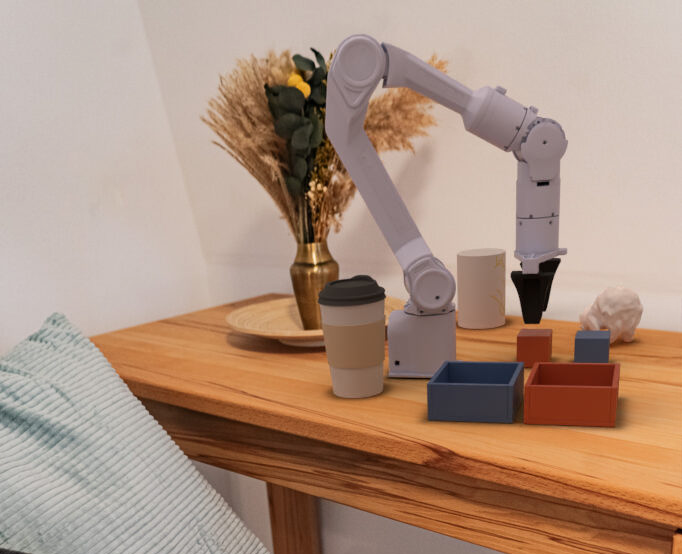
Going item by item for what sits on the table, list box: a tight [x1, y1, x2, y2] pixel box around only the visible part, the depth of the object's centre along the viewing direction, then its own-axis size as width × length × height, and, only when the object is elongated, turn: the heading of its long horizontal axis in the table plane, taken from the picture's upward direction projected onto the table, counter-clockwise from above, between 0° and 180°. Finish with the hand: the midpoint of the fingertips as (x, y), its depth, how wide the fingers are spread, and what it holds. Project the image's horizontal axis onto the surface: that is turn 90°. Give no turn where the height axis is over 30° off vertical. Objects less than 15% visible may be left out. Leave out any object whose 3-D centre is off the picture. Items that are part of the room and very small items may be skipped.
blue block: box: [573, 330, 611, 363], centre depth 117 cm, size 4×4×4 cm
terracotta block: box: [515, 328, 554, 368], centre depth 120 cm, size 4×4×4 cm
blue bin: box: [426, 360, 525, 424], centre depth 104 cm, size 10×10×5 cm
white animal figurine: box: [578, 285, 644, 345], centre depth 129 cm, size 6×8×12 cm
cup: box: [456, 247, 507, 330], centre depth 144 cm, size 8×8×12 cm
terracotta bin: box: [523, 361, 621, 428], centre depth 100 cm, size 10×10×5 cm
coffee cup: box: [317, 274, 387, 399], centre depth 112 cm, size 9×9×15 cm
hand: (535, 317), depth 118 cm, fingers open, 7 cm apart
